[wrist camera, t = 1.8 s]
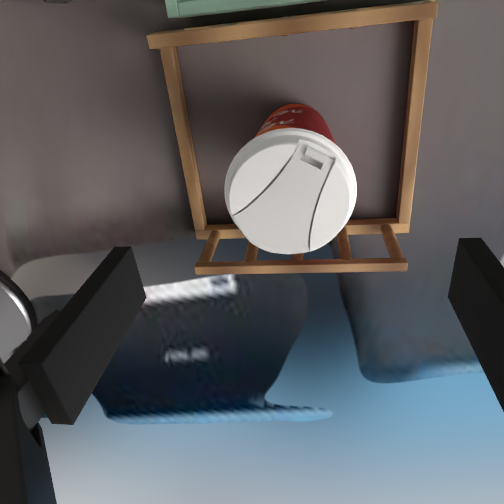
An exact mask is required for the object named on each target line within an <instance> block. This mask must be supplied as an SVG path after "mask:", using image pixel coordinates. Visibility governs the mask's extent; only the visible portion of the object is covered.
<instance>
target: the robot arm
mask: <svg viewBox="0 0 504 504" xmlns="http://www.w3.org/2000/svg"><path fill="white" fill-rule="evenodd" d="M448 298H449V300H450V302H451V304H452V307H453V309H454V311H455V313H456V315H457V317H458V319H459V321H460V323H461V325H462V327H463V329H464V331H465V333H466V335H467V337H468V339H469V341H470V344H471V346H472V348H473V350H474V352H475V354H476V356H477V358H478V360H479V362H480V364H481V366H482V368H483V370H484V372H485V374H486V376H487V378H488V380H489V383H490V385H491V387H492V389H493V391H494V393H495V395H496V397H497V399H498V401H499V403H500V405H501V407H502V409H503V411H504V268H503V266H502V265H501V263H500V262H499V261H498V259H497V258H496V257H495V255H494V254H493V253H492V251H491V250H490V249H489V248H488V246H487V245H486V244H485V242H484V241H483V240H482V238H459V241H458V246H457V252H456V257H455V262H454V267H453V273H452V278H451V283H450V288H449V294H448ZM145 299H146V295H145V291H144V288H143V285H142V282H141V278H140V275H139V271H138V268H137V264H136V261H135V258H134V254H133V251H132V247H114V248H113V249H112V251H111V252H110V253H109V254H108V255H107V257H106V258H105V259H104V260H103V261H102V263H101V264H100V265H99V266H98V267H97V269H96V270H95V271H94V272H93V273H92V274H91V276H90V277H89V278H88V279H87V280H86V282H85V283H84V284H83V285H82V286H81V288H80V289H79V290H78V291H77V292H76V294H75V295H74V296H73V297H72V298H71V300H70V301H69V302H68V303H67V304H66V306H65V307H64V308H63V309H62V310H56V311H54V312H53V313H51V314H50V315H49V316H47V317H46V318H44V319H43V320H42V321H41V322H40V323H39V324H38V326H37V318H36V314H35V311H34V309H33V306H32V304H31V302H30V301H29V299H28V298H27V296H26V295H25V294H24V292H23V291H22V290H21V289H20V288H19V287H18V286H17V285H16V284H15V283H14V282H13V281H12V280H11V279H10V278H9V277H7V276H6V275H5V274H3V273H2V272H0V504H57V503H56V499H55V493H54V488H53V483H52V477H51V472H50V467H49V462H48V458H47V452H46V447H45V442H44V437H43V432H42V428H41V426H40V425H39V423H38V421H39V420H40V418H41V417H42V415H43V414H44V412H45V413H46V415H47V416H48V418H49V420H50V421H51V423H52V424H68V425H73V424H74V423H75V420H76V419H77V417H78V416H79V414H80V412H81V410H82V408H83V407H84V405H85V404H86V402H87V400H88V398H89V397H90V395H91V393H92V391H93V390H94V388H95V386H96V384H97V383H98V381H99V379H100V378H101V376H102V374H103V372H104V371H105V369H106V367H107V365H108V364H109V362H110V360H111V358H112V357H113V355H114V353H115V351H116V350H117V348H118V346H119V345H120V343H121V341H122V339H123V338H124V336H125V334H126V332H127V331H128V329H129V327H130V325H131V324H132V322H133V320H134V318H135V317H136V315H137V313H138V312H139V310H140V308H141V306H142V305H143V303H144V301H145Z"/></svg>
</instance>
